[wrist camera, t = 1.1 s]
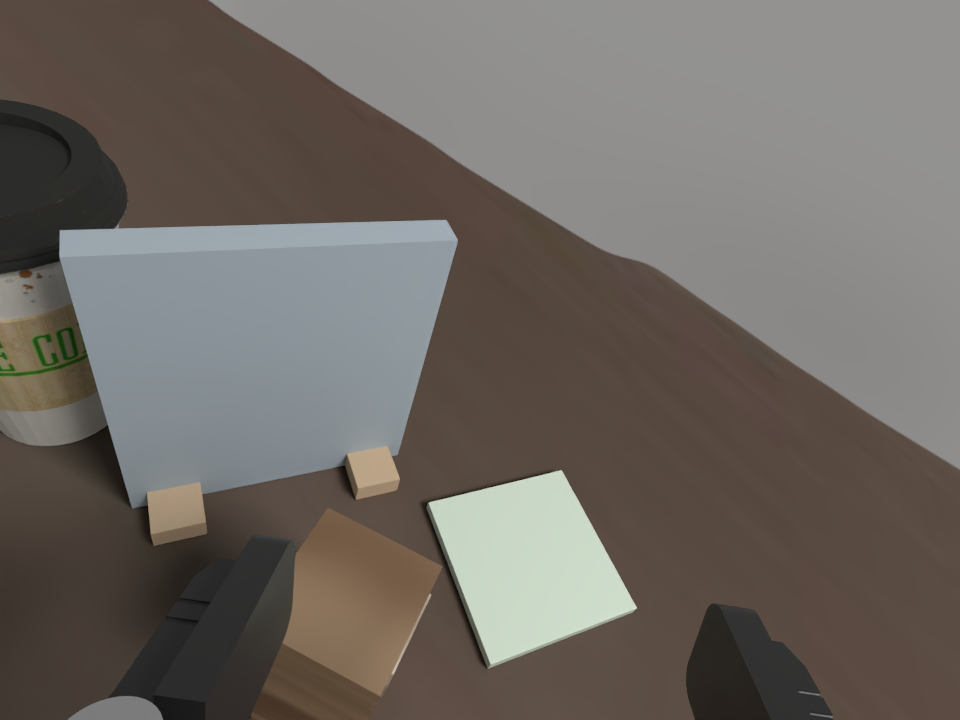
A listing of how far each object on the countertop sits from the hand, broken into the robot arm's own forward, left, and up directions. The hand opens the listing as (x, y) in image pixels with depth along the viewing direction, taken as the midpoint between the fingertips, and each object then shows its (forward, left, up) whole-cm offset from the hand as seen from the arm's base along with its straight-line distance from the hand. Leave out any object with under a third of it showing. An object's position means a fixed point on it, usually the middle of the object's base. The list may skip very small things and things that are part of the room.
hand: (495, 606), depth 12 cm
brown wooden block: (-1, +4, -20) cm, 20 cm away
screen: (-1, +16, -20) cm, 25 cm away
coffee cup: (-11, +23, -20) cm, 32 cm away
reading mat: (+11, +7, -20) cm, 24 cm away
